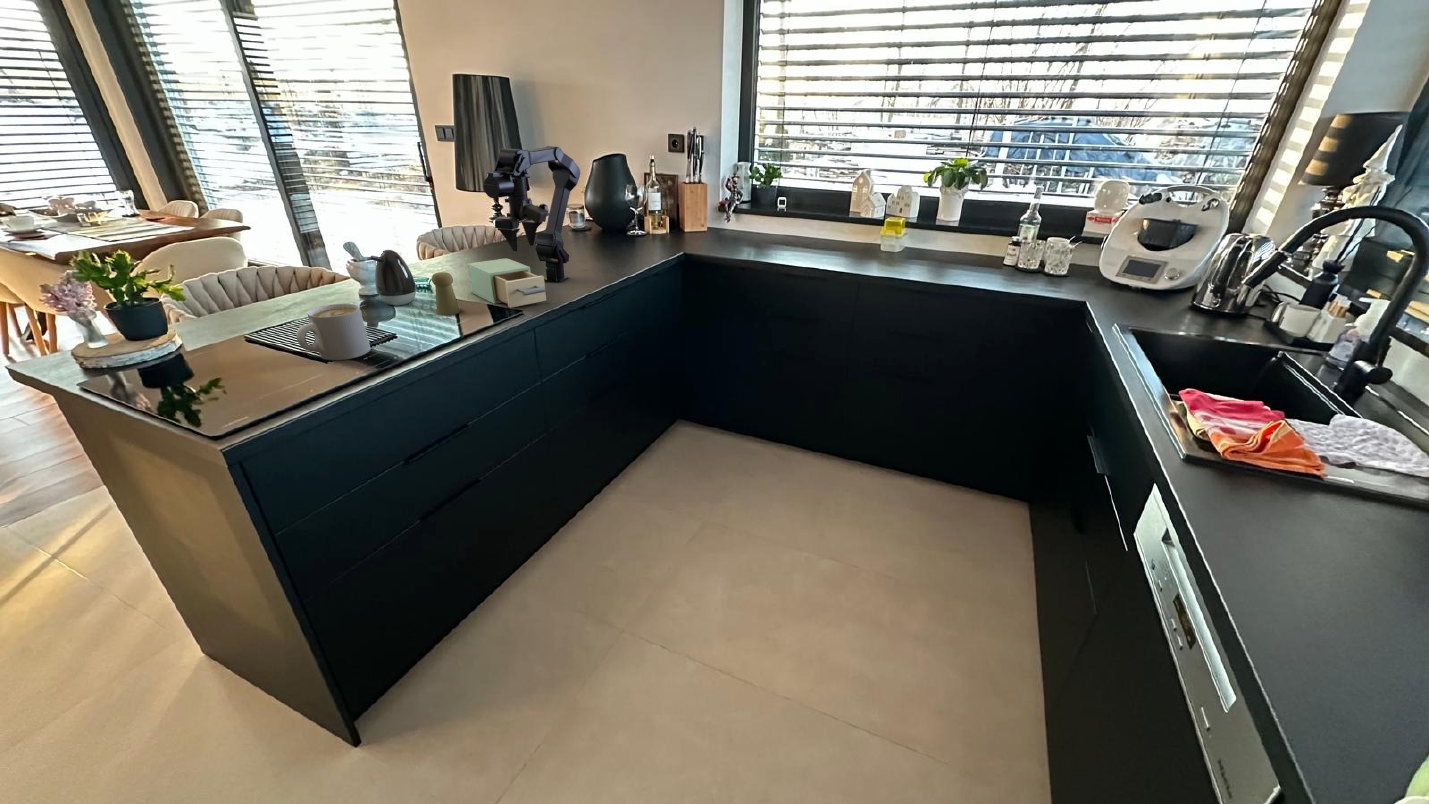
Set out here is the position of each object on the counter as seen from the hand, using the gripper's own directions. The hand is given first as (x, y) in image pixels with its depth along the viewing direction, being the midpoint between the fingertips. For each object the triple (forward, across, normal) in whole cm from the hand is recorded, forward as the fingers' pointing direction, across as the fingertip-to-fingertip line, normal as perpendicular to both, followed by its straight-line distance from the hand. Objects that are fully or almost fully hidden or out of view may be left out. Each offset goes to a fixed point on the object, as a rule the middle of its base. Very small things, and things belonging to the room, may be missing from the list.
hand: (523, 248), depth 172 cm
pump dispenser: (+13, -26, +26) cm, 39 cm away
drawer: (+12, -14, -6) cm, 19 cm away
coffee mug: (+13, -62, +11) cm, 64 cm away
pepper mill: (+13, -28, +8) cm, 32 cm away
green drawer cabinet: (+13, -8, +4) cm, 16 cm away
